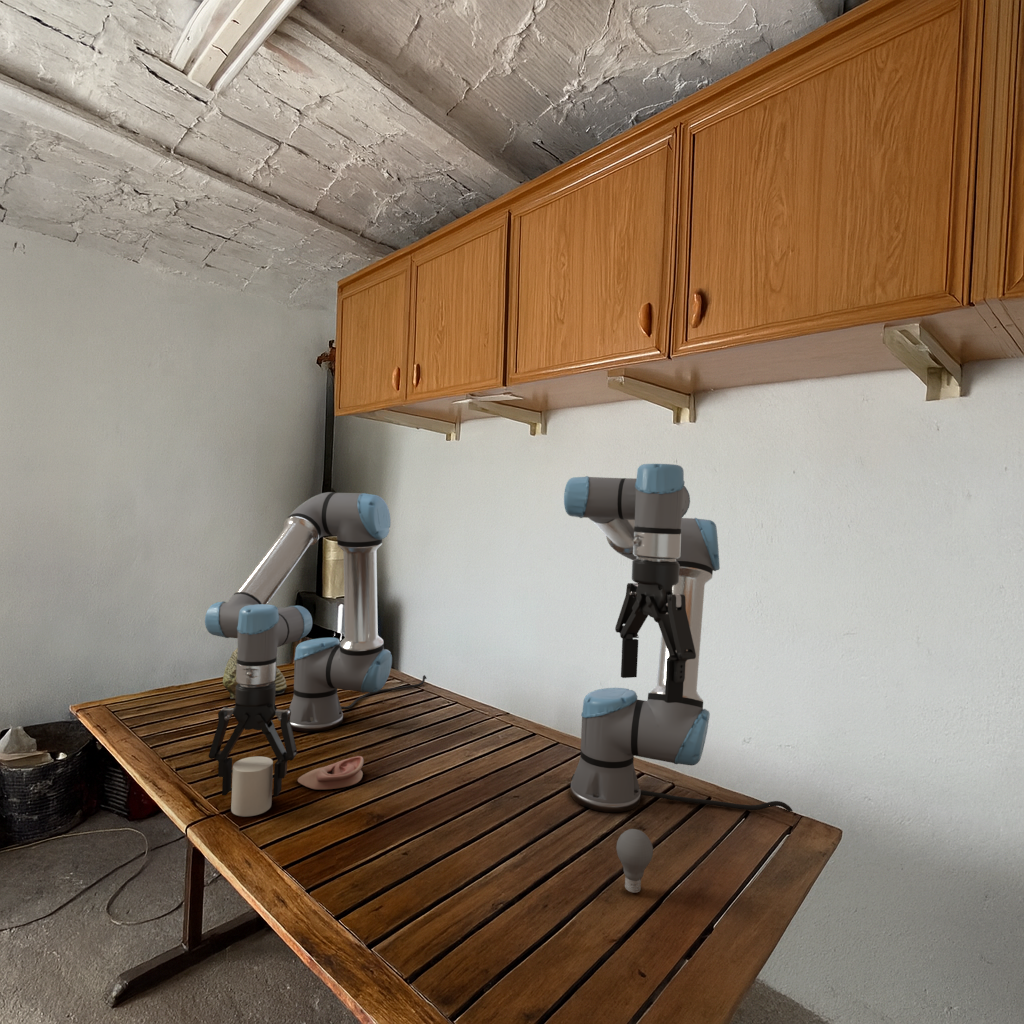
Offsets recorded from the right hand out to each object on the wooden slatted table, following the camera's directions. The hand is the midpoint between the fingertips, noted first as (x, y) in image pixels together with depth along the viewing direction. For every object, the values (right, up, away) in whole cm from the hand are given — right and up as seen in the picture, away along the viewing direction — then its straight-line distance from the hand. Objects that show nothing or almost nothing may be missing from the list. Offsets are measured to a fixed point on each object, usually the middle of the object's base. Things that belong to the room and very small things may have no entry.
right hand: (649, 688), depth 103 cm
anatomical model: (-63, -31, +38) cm, 80 cm away
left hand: (-75, -28, +25) cm, 84 cm away
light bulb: (-2, -35, +2) cm, 35 cm away
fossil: (-103, -28, +95) cm, 143 cm away
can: (-75, -31, +25) cm, 85 cm away
